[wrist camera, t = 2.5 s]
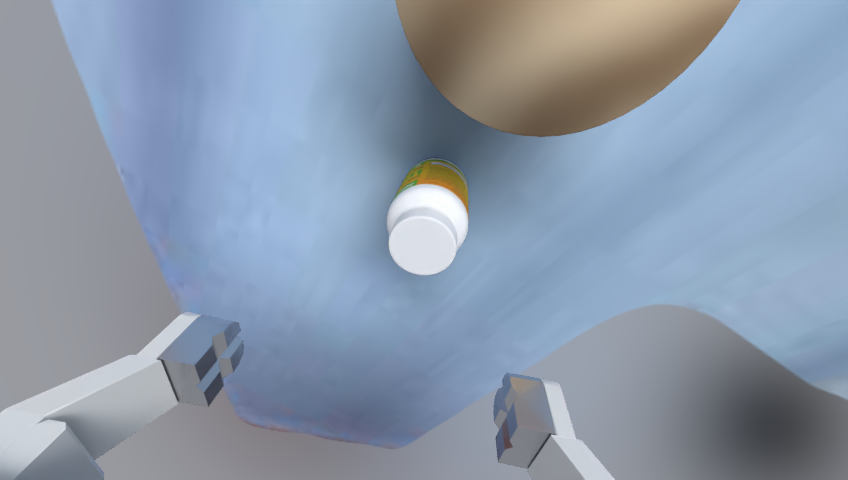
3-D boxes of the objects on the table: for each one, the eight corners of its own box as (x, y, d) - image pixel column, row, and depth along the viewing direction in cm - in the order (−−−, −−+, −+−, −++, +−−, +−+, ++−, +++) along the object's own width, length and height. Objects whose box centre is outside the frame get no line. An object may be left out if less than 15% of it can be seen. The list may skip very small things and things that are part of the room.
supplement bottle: (420, 144, 27) (397, 187, 18) (480, 176, 27) (487, 231, 18) (394, 200, 29) (362, 262, 20) (448, 228, 30) (441, 298, 21)
